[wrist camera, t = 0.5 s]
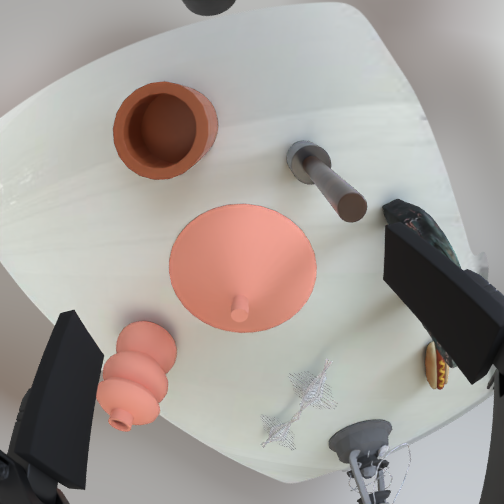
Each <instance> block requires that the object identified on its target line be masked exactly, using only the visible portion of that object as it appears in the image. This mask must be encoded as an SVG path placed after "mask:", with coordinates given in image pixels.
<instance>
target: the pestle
mask: <svg viewBox="0 0 504 504" xmlns="http://www.w3.org/2000/svg"><path fill="white" fill-rule="evenodd" d="M287 163H288V166H289V167H290V169H291V171H292V172H293V174H294V176H295V177H296V178H297V179H298V180H299V181H301V182H302V183H305V184H311V185H312V184H315V185H316V186H317V187H318V189H319V190H320V191H321V192H322V194H323V195H324V196H325V198H326V199H327V200H328V202H329V203H330V204H331V206H332V207H333V208H334V210H335V211H336V212H337V214H338V215H339V216H340V218H341V219H342V220H344V221H346V222H356V221H359V220H360V219H361V218H363V216H364V215H365V213H366V210H367V202H366V199H365V198H364V197H363V196H362V195H361V194H360V193H359V192H358V191H357V190H355V189H354V188H353V187H352V186H351V185H350V184H348V183H347V182H346V181H345V180H344V179H342V178H341V177H340V176H339V175H338V174H336V173H335V172H334V171H333V170H332V169H331V160H330V157H329V155H328V153H327V152H326V151H325V150H324V149H323V148H321V147H319V146H318V145H316V144H314V143H312V142H310V141H299V142H296V143H295V144H293V145H292V146H291V147H290V149H289V150H288V153H287Z"/></svg>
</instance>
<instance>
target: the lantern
mask: <svg viewBox="0 0 504 504" xmlns="http://www.w3.org/2000/svg"><path fill="white" fill-rule="evenodd" d="M391 431H392V426H391V424H390V423H389V422H387V421H385V420H368V421H363V422H359V423H356V424H353V425H350V426H348V427H346V428H344V429H342V430H340V431H339V432H337V433H336V434H335V435H334V436H333V437H332V438H331V439H330V441H329V448H330V449H331V450H333V451H334V452H337V455H338V457H339V460H340V461H341V462H343V463H348V464H350V467H351V471H349V472H347V475H348V476H349V477H350V479H351V478H355V481H356V484H357V487H358V488H357V489H358V490H359V493H360V496H361V498H360V499H359V500H357V502H359V504H389V503H388V502H386V498H388V497H389V495H390V493H391V491H390V490H385V486H384V476H385V475H383V474H384V473H383V468H385V467H387V466H388V464H389V462H387V461H386V460H383V459H384V458H385V457H386V456H387V455H389V454H390V453H391V452H392V451H393V450H395V449H396V448H398V447H400V446H401V445H400V446H398V447H396V448H394V449H393V450H392V451H391V452H389V453H388V454H387V455H386V456H385V457H384V458H383V459H377V457H378V456H382V455H384V454H386V452H387V451H388V450H389V446H388V435H389V434H390V432H391ZM404 444H407V443H404ZM404 444H402V445H404ZM407 445H408V444H407ZM408 447H409V445H408ZM409 454H410V450H409ZM410 459H411V458H410ZM410 462H411V460H410ZM410 462H409V465H410ZM387 468H389V467H387ZM408 468H409V466H408ZM386 470H387V469H386ZM386 470H385V471H386ZM407 471H408V469H407ZM386 472H387V471H386ZM375 474H376V475H375ZM374 475H375V481H374V489H375V482H376V480H378V492H375V491H374V489H373V493H372V494H369V495H368V492H367V489H366V487H365V484H364V481H363V478H362V477H364V478H365V479H369V478H371V477H372V476H374ZM406 475H407V473H406ZM390 476H391V475H390ZM391 477H392V476H391ZM405 477H406V476H405ZM350 479H349V480H350ZM404 480H405V479H404ZM349 482H350V481H349ZM391 482H392V480H391ZM403 483H404V481H403ZM403 483H402V484H403ZM370 484H371V483H370ZM368 485H369V484H368ZM349 486H350V484H349ZM389 486H390V485H389ZM350 487H351V486H350ZM355 489H356V488H355ZM355 489H353V490H354V491H355ZM351 491H352V490H351ZM399 491H400V489H399ZM399 491H398V493H399ZM398 493H397V495H398ZM397 495H396V497H397ZM396 497H395V498H396ZM394 501H395V499H394ZM393 503H394V502H393Z"/></svg>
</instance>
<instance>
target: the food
mask: <svg viewBox="0 0 504 504" xmlns="http://www.w3.org/2000/svg"><path fill="white" fill-rule="evenodd" d="M425 366H426V377H427V381H428V382H429V384H430V386H431V387H432V388H433V389H436V388H437V389H440V390H441V389H442V388H443V387H444V384H447V382H448V374H449V366H448V365H447V363H446V362H445V361H444V359H443V358H442V356H441V355H440V353H439V351H438V349H437V347H436V345H435V343H434V341H433V342H431V343H429V345H428V346H427V350H426V358H425Z"/></svg>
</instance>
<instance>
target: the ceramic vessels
mask: <svg viewBox="0 0 504 504" xmlns="http://www.w3.org/2000/svg"><path fill="white" fill-rule="evenodd" d="M316 269H317V266H316V260H315V254H314V251H313V249H312V247H311V244H310V242H309V240H308V239H307V237H306V236H305V235H304V233H303V232H302V230H301V229H300V228H299V227H298V226H297V225H295V224H294V223H293V222H292V221H291V220H290V219H288V218H287V217H285V216H283V215H281V214H280V213H278V212H276V211H274V210H271V209H268V208H265V207H262V206H256V205H249V204H234V205H226V206H222V207H218V208H214V209H212V210H209V211H207V212H205V213H203V214H201V215H199V216H198V217H197V218H195V219H194V220H193V221H191V222H190V223H189V224H188V225H187V226H186V227H185V228H184V229H183V230H182V232H181V233H180V234H179V235H178V237H177V239H176V241H175V243H174V245H173V247H172V251H171V255H170V259H169V274H170V279H171V283H172V286H173V289H174V291H175V293H176V295H177V297H178V298H179V300H180V301H181V303H182V304H183V305H184V307H185V308H186V309H187V310H188V311H189V312H190V313H191V314H193V315H194V316H195V317H197V318H198V319H200V320H201V321H203V322H204V323H206V324H209V325H211V326H213V327H215V328H219V329H222V330H226V331H231V332H239V333H245V332H257V331H263V330H267V329H270V328H273V327H275V326H278V325H280V324H282V323H283V322H285V321H287V320H289V319H290V318H291V317H293V316H294V315H295V314H296V313H297V312H299V310H300V309H301V308H302V307H303V306H304V304H305V303H306V302H307V300H308V298H309V297H310V295H311V293H312V291H313V287H314V284H315V280H316ZM116 351H117V354H114V355H113V356H111V357H110V358H109V359H108V360H107V362H106V363H105V365H104V368H103V379H104V381H102V382H100V383H99V384H98V389H97V394H96V398H97V401H98V402H99V404H100V405H101V407H102V408H103V409H104V410H105V412H107V413H108V414H109V415H110V418H109V420H108V422H109V424H110V425H111V426H112V427H114V428H116V429H118V430H121V431H130V430H131V426H132V425H144V424H148V423H151V422H153V421H154V420H155V419H156V418H157V416H158V415H159V413H160V407H159V404H158V403H159V402H161V401H162V400H163V398H164V397H165V395H166V394H167V391H168V380H167V377H166V375H165V374H166V373H168V372H169V371H170V369H171V368H172V367H173V365H174V363H175V360H176V356H177V348H176V345H175V341H174V340H173V338H172V336H171V335H170V334H169V333H168V332H167V331H166V330H165V329H164V328H163V327H161V326H159V325H157V324H155V323H152V322H148V321H138V322H133V323H131V324H129V325H127V326H126V327H125V328H124V329H123V330H122V331H121V333H120V334H119V337H118V340H117V345H116Z"/></svg>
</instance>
